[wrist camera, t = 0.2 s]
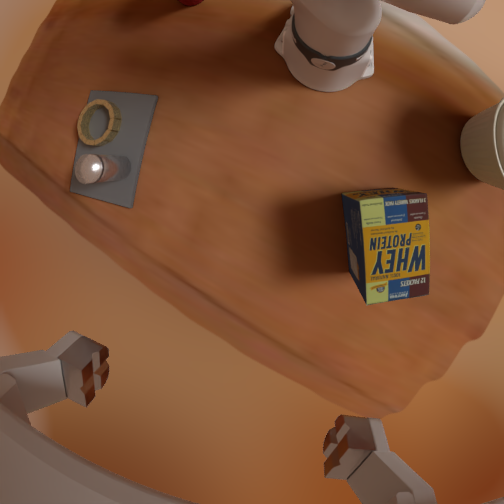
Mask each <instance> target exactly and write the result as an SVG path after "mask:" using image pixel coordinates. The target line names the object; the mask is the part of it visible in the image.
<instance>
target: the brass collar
mask: <svg viewBox="0 0 504 504" xmlns="http://www.w3.org/2000/svg"><path fill="white" fill-rule="evenodd" d="M103 106H105V107H106V108H107V109H108V110H109V115H110V121H109V125H108V129H107V130H106V132H105V133H104V134H103V136H102V137H100V138H98V139H96V140H95V139H94V138H93V137H92V136H91V135H90V130H89V124H90V119H91V117H92V115H93V114H94V113H95V111H96V110H97V109H99V108H101V107H103ZM80 114H81V115H79V120H78V124H77V129H78V135H79V136H80V137H79V138H80V139H81V140H82V141H83V142H84V143H85V144H88V145H94V146H104V145H106V144H108V143H110V142H111V141H113V139H114V138H115V137H116V135H117V134H118V133H119V132H118V131H119V130H120V126H121V122H122V117H121V112H120V109H119V108H118V107H117V106H116V105H115V104H114V103H113V102H110V101H107V100H100V99H96V100H94V101H92V102H90V103H89V104H87V105H86V106H85V108H84V109H83V110H82V112H81V113H80Z"/></svg>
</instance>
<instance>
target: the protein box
mask: <svg viewBox="0 0 504 504" xmlns="http://www.w3.org/2000/svg"><path fill="white" fill-rule="evenodd" d="M342 202H343V210H344V218H345V228H346V238H347V251H348V263H349V272H350V274H351V276H352V278H353V280H354V282H355V283H356V285H357V287H358V289H359V291H360V293H361V295H362V297H363V299H364V301H365V303H366V305H371V304H376V303H382V302H388V301H393V300H399V299H406V298H413V297H419V296H424V295H429V282H430V234H429V215H428V200H427V193H421V192H414V191H409V190H403V189H398V188H387V189H375V190H365V191H355V192H347V193H342Z"/></svg>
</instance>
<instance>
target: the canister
mask: <svg viewBox="0 0 504 504" xmlns="http://www.w3.org/2000/svg"><path fill="white" fill-rule="evenodd" d="M460 138H461V139H460V148H461V153H462V158H463V160H464V163H465V164H466V167H467V168H468V170H469V171H470V172H471V173H472V175H474V176H475V177H476V178H477V179H479V180H480V181H482V182H484V183H487V184H490V185H492V186H495V187H497V188H500V189H503V190H504V98H502V99H501V101H500V102H499V103H498V104H496V105H494V106H492V107H490V108H488V109H486V110H484V111H482V112H480V113H479V114H477V115H475V116H474V117H472V118H471V119H469V120H468V122H467V123H466V124H465V126H464V127H463V131H462V132H461V137H460Z"/></svg>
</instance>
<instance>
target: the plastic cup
mask: <svg viewBox="0 0 504 504" xmlns="http://www.w3.org/2000/svg"><path fill="white" fill-rule="evenodd" d="M178 1H180V2H181V3H182V4H184V5H187V6H194V5H197V4H199V3H201V2H202V1H204V0H178Z"/></svg>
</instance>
